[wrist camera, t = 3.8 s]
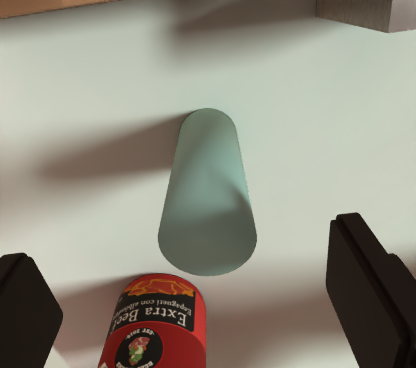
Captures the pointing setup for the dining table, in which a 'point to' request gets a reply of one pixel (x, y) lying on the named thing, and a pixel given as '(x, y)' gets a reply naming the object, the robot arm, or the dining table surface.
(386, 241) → the dining table surface
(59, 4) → the socket block
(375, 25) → the flat bit
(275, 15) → the dining table surface
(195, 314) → the canned food
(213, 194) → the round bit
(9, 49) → the dining table surface
